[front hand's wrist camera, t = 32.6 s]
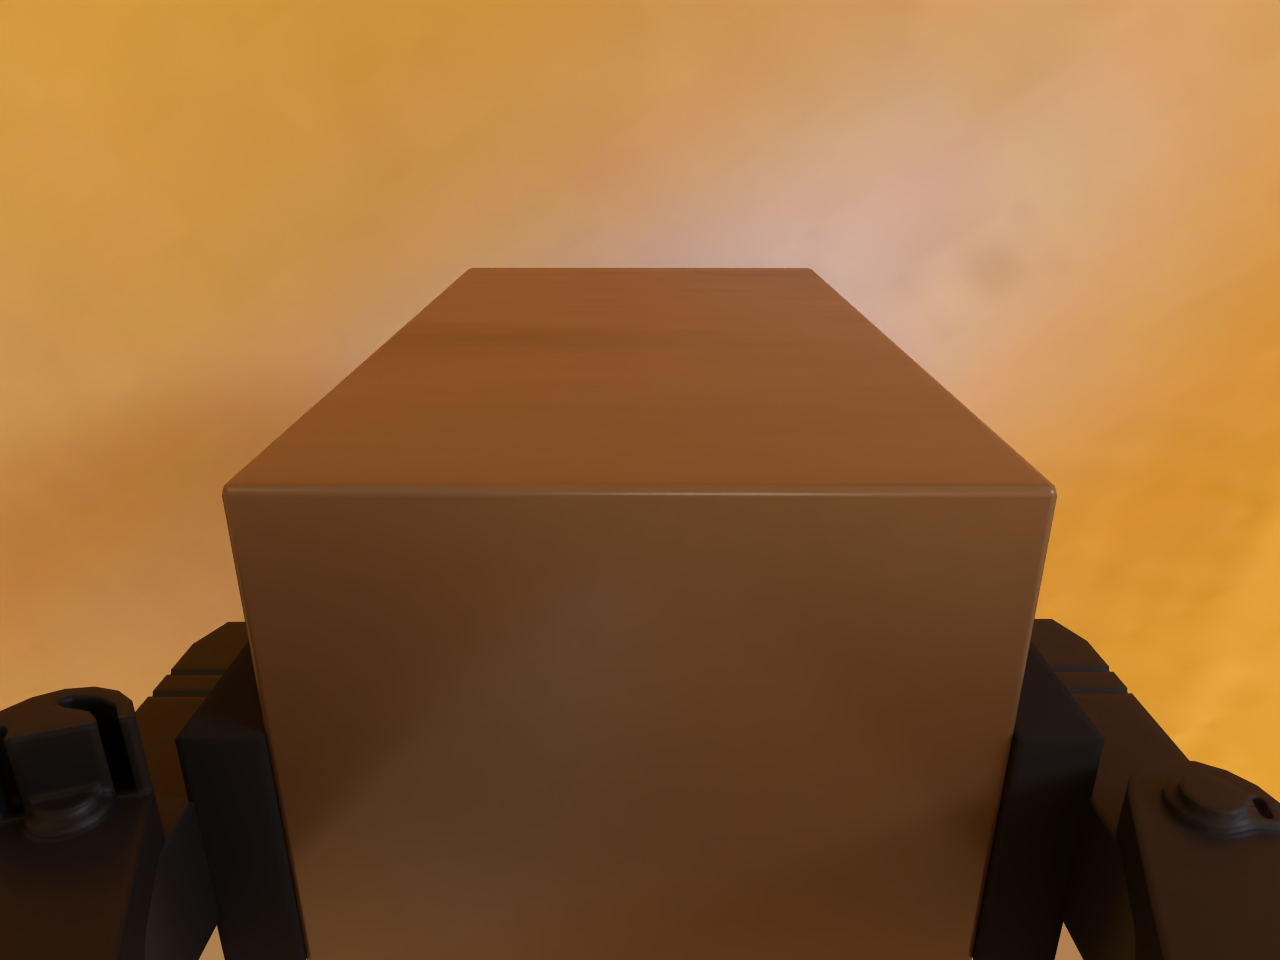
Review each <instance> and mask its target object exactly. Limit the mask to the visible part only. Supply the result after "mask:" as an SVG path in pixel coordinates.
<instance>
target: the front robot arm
mask: <svg viewBox="0 0 1280 960" xmlns="http://www.w3.org/2000/svg"><path fill="white" fill-rule="evenodd" d="M1063 922H1064V924H1065V926H1066V928H1067V929H1068V931H1069V933H1070V935H1071V937H1072V939H1073V941H1074V943H1075V945H1076V946H1077V948H1078V950H1079V952H1080V954H1081V956H1082V958H1083V960H1280V803H1279V802H1278V801H1276V800H1275V799H1274V798H1273V797H1271V796H1270V795H1269V794H1267V793H1266V792H1265V791H1263V790H1262V789H1261V788H1260V787H1258V786H1257V785H1255V784H1253V783H1251V782H1249V781H1247V780H1245V779H1243V778H1241V777H1239V776H1237V775H1235V774H1233V773H1231V772H1229V771H1226V770H1223V769H1220V768H1216V767H1213V766H1209V765H1206V764H1202V763H1199V762H1196V761H1189V760H1188V759H1187V757H1186V756H1185V755H1184V754H1183V753H1182V752H1181V750H1180V749H1179V748H1178V747H1177V746H1176V745H1175V743H1174V742H1173V741H1172V740H1171V739H1170V738H1169V736H1168V735H1167V734H1166V733H1165V732H1164V730H1163V729H1162V728H1161V727H1160V726H1159V725H1158V723H1157V722H1156V721H1155V720H1154V719H1153V718H1152V716H1151V715H1150V714H1149V713H1148V712H1147V711H1146V709H1145V708H1144V707H1143V706H1142V705H1141V704H1140V702H1139V701H1138V700H1137V699H1136V698H1135V697H1134V695H1133V694H1132V693H1127V687H1126V686H1125V685H1124V684H1123V683H1122V681H1121V680H1120V679H1119V678H1118V677H1117V675H1116V674H1115V673H1114V672H1109V666H1108V665H1107V664H1106V663H1105V661H1104V660H1103V659H1102V658H1101V657H1100V656H1099V654H1098V653H1097V652H1096V651H1095V650H1094V649H1093V647H1092V646H1091V645H1090V644H1089V643H1088V642H1087V641H1086V640H1085V639H1083V638H1081V637H1080V636H1078V635H1077V634H1075V633H1073V632H1072V631H1070V630H1069V629H1067V628H1065V627H1064V626H1062V625H1061V624H1059V623H1057V622H1056V621H1054V620H1052V619H1034V623H1033V628H1032V634H1031V639H1030V645H1029V650H1028V656H1027V661H1026V666H1025V672H1024V677H1023V683H1022V688H1021V694H1020V699H1019V704H1018V710H1017V715H1016V721H1015V726H1014V731H1013V737H1012V742H1011V748H1010V753H1009V759H1008V764H1007V769H1006V775H1005V780H1004V786H1003V791H1002V796H1001V802H1000V807H999V813H998V818H997V824H996V829H995V834H994V840H993V845H992V851H991V856H990V861H989V867H988V872H987V878H986V883H985V889H984V894H983V899H982V905H981V910H980V916H979V921H978V927H977V932H976V937H975V943H974V948H973V954H972V957H973V960H1055V955H1056V951H1057V946H1058V942H1059V938H1060V933H1061V929H1062V924H1063ZM216 925H217V927H218V931H219V936H220V940H221V945H222V949H223V953H224V958H225V960H306V959H307V956H306V951H305V945H304V940H303V934H302V929H301V923H300V918H299V912H298V907H297V901H296V896H295V890H294V885H293V880H292V874H291V869H290V863H289V858H288V852H287V847H286V841H285V836H284V830H283V825H282V819H281V814H280V809H279V803H278V798H277V792H276V787H275V781H274V776H273V770H272V765H271V759H270V754H269V748H268V743H267V737H266V732H265V727H264V721H263V716H262V710H261V705H260V699H259V694H258V688H257V683H256V677H255V672H254V666H253V661H252V656H251V650H250V645H249V639H248V634H247V628H246V623H245V622H227V623H226V624H224V625H223V626H221V627H219V628H218V629H216V630H215V631H213V632H211V633H210V634H208V635H207V636H205V637H203V638H202V639H200V640H199V641H197V642H196V643H194V644H193V645H192V646H191V647H190V648H189V649H188V651H187V652H186V653H185V654H184V655H183V656H182V658H181V659H180V660H179V661H178V662H177V663H176V665H175V666H174V667H173V668H172V669H171V675H166V676H165V678H164V679H163V680H162V681H161V682H160V684H159V685H158V686H157V687H156V688H155V689H154V691H153V696H152V697H148V698H147V699H146V700H145V701H144V702H143V704H142V705H141V706H140V707H139V708H138V709H137V711H136V712H135V710H134V706H133V702H132V700H130V699H129V698H128V697H126V696H125V695H124V694H122V693H121V692H119V691H117V690H111V689H105V688H100V687H85V688H72V689H63V690H59V691H55V692H51V693H48V694H44V695H40V696H36V697H32V698H30V699H27V700H25V701H23V702H20V703H18V704H16V705H13V706H11V707H9V708H6V709H4V710H2V711H0V960H199V958H200V956H201V954H202V952H203V950H204V948H205V946H206V944H207V942H208V941H209V939H210V937H211V935H212V933H213V931H214V929H215V927H216Z"/></svg>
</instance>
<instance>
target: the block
mask: <svg viewBox="0 0 1280 960" xmlns="http://www.w3.org/2000/svg"><path fill="white" fill-rule="evenodd" d="M222 497H223V503H224V508H225V514H226V519H227V524H228V530H229V535H230V541H231V546H232V552H233V557H234V563H235V568H236V574H237V579H238V585H239V590H240V595H241V601H242V606H243V612H244V617H245V623H246V628H247V634H248V639H249V645H250V650H251V656H252V661H253V666H254V672H255V677H256V683H257V688H258V694H259V699H260V705H261V710H262V716H263V721H264V727H265V732H266V737H267V743H268V748H269V754H270V759H271V765H272V770H273V776H274V781H275V787H276V792H277V798H278V803H279V809H280V814H281V819H282V825H283V830H284V836H285V841H286V847H287V852H288V858H289V863H290V869H291V874H292V880H293V885H294V890H295V896H296V901H297V907H298V912H299V918H300V923H301V929H302V934H303V940H304V945H305V951H306V956H307V960H971V959H972V954H973V948H974V943H975V937H976V932H977V927H978V921H979V916H980V910H981V905H982V899H983V894H984V889H985V883H986V878H987V872H988V867H989V861H990V856H991V851H992V845H993V840H994V834H995V829H996V824H997V818H998V813H999V807H1000V802H1001V796H1002V791H1003V786H1004V780H1005V775H1006V769H1007V764H1008V759H1009V753H1010V748H1011V742H1012V737H1013V731H1014V726H1015V721H1016V715H1017V710H1018V704H1019V699H1020V694H1021V688H1022V683H1023V677H1024V672H1025V666H1026V661H1027V656H1028V650H1029V645H1030V639H1031V634H1032V628H1033V623H1034V618H1035V612H1036V607H1037V601H1038V596H1039V591H1040V585H1041V580H1042V574H1043V569H1044V563H1045V558H1046V553H1047V547H1048V542H1049V536H1050V531H1051V526H1052V520H1053V515H1054V509H1055V504H1056V498H1057V493H1056V489H1055V486H1054V485H1053V484H1052V483H1051V482H1050V481H1048V480H1047V479H1046V478H1045V477H1044V476H1043V475H1042V474H1041V473H1039V472H1038V471H1037V470H1036V469H1035V468H1034V467H1033V466H1032V465H1030V464H1029V463H1028V462H1027V461H1026V460H1025V459H1024V458H1023V457H1021V456H1020V455H1019V454H1018V453H1017V452H1016V451H1015V450H1014V449H1012V448H1011V447H1010V446H1009V445H1008V444H1007V443H1006V442H1005V441H1004V440H1002V439H1001V438H1000V437H999V436H998V435H997V434H996V433H995V432H993V431H992V430H991V429H990V428H989V427H988V426H987V425H986V424H984V423H983V422H982V421H981V420H980V419H979V418H978V417H977V416H975V415H974V414H973V413H972V412H971V411H970V410H969V409H968V408H966V407H965V406H964V405H963V404H962V403H961V402H960V401H959V400H958V399H956V398H955V397H954V396H953V395H952V394H951V393H950V392H949V391H947V390H946V389H945V388H944V387H943V386H942V385H941V384H940V383H938V382H937V381H936V380H935V379H934V378H933V377H932V376H931V375H929V374H928V373H927V372H926V371H925V370H924V369H923V368H922V367H921V366H919V365H918V364H917V363H916V362H915V361H914V360H913V359H912V358H910V357H909V356H908V355H907V354H906V353H905V352H904V351H903V350H901V349H900V348H899V347H898V346H897V345H896V344H895V343H894V342H892V341H891V340H890V339H889V338H888V337H887V336H886V335H885V334H883V333H882V332H881V331H880V330H879V329H878V328H877V327H876V326H875V325H873V324H872V323H871V322H870V321H869V320H868V319H867V318H866V317H864V316H863V315H862V314H861V313H860V312H859V311H858V310H857V309H855V308H854V307H853V306H852V305H851V304H850V303H849V302H848V301H846V300H845V299H844V298H843V297H842V296H841V295H840V294H839V293H837V292H836V291H835V290H834V289H833V288H832V287H831V286H830V285H829V284H827V283H826V282H825V281H824V280H823V279H822V278H821V277H820V276H818V275H817V274H816V273H815V272H814V271H813V270H811V269H809V268H471V269H469V270H467V271H466V272H465V273H464V274H463V275H462V276H461V277H459V278H458V279H457V280H456V281H455V282H454V283H453V284H452V285H450V286H449V287H448V288H447V289H446V290H445V291H444V292H442V293H441V294H440V295H439V296H438V297H437V298H436V299H435V300H433V301H432V302H431V303H430V304H429V305H428V306H427V307H426V308H424V309H423V310H422V311H421V312H420V313H419V314H418V315H416V316H415V317H414V318H413V319H412V320H411V321H410V322H409V323H407V324H406V325H405V326H404V327H403V328H402V329H401V330H399V331H398V332H397V333H396V334H395V335H394V336H393V337H392V338H390V339H389V340H388V341H387V342H386V343H385V344H384V345H383V346H381V347H380V348H379V349H378V350H377V351H376V352H375V353H373V354H372V355H371V356H370V357H369V358H368V359H367V360H366V361H364V362H363V363H362V364H361V365H360V366H359V367H358V368H356V369H355V370H354V371H353V372H352V373H351V374H350V375H349V376H347V377H346V378H345V379H344V380H343V381H342V382H341V383H340V384H338V385H337V386H336V387H335V388H334V389H333V390H332V391H330V392H329V393H328V394H327V395H326V396H325V397H324V398H323V399H321V400H320V401H319V402H318V403H317V404H316V405H315V406H313V407H312V408H311V409H310V410H309V411H308V412H307V413H306V414H304V415H303V416H302V417H301V418H300V419H299V420H298V421H297V422H295V423H294V424H293V425H292V426H291V427H290V428H289V429H287V430H286V431H285V432H284V433H283V434H282V435H281V436H280V437H278V438H277V439H276V440H275V441H274V442H273V443H272V444H270V445H269V446H268V447H267V448H266V449H265V450H264V451H263V452H261V453H260V454H259V455H258V456H257V457H256V458H255V459H254V460H252V461H251V462H250V463H249V464H248V465H247V466H246V467H244V468H243V469H242V470H241V471H240V472H239V473H238V474H237V475H235V476H234V477H233V478H232V479H231V480H230V481H229V482H227V483H226V484H225V485H224V488H223V492H222Z"/></svg>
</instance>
